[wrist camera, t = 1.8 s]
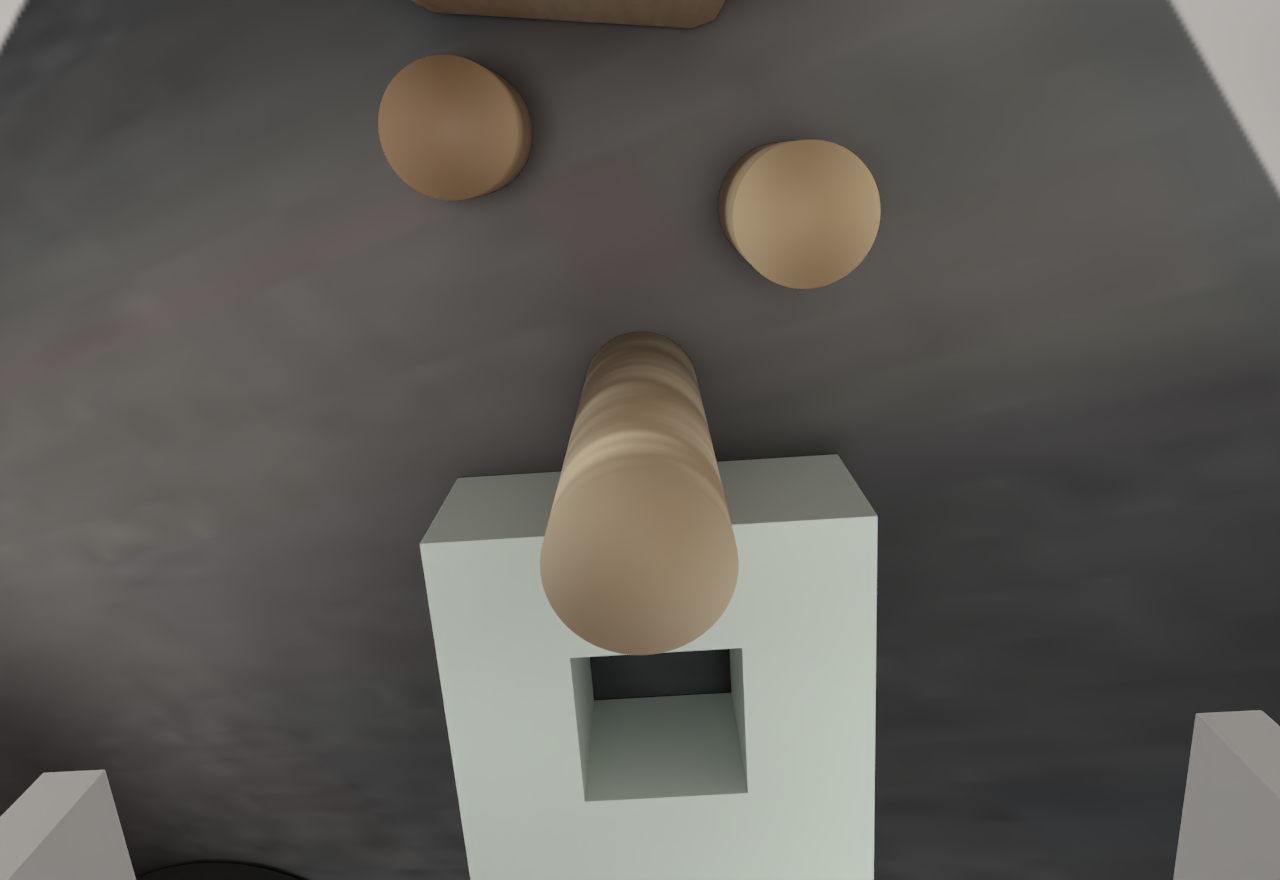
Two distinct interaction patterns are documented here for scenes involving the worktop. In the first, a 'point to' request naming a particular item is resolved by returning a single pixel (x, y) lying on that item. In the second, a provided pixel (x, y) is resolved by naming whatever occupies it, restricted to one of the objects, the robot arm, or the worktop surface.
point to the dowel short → (454, 128)
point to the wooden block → (589, 10)
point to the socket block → (670, 725)
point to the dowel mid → (800, 211)
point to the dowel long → (639, 507)
